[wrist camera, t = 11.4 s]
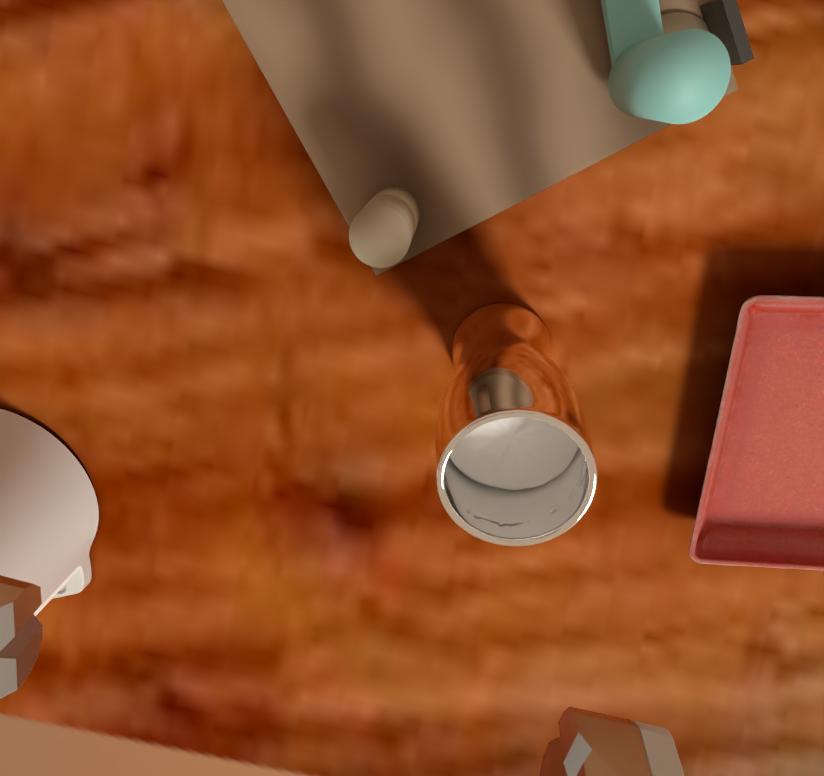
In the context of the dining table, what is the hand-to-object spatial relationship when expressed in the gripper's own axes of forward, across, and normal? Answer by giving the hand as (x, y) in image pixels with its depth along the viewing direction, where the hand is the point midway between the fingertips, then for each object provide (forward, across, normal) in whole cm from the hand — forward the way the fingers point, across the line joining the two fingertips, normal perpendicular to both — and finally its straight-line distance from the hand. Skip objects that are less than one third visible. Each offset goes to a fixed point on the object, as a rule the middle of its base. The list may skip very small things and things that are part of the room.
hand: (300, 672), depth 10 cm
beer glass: (+31, -6, +6) cm, 32 cm away
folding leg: (+28, -6, -14) cm, 32 cm away
